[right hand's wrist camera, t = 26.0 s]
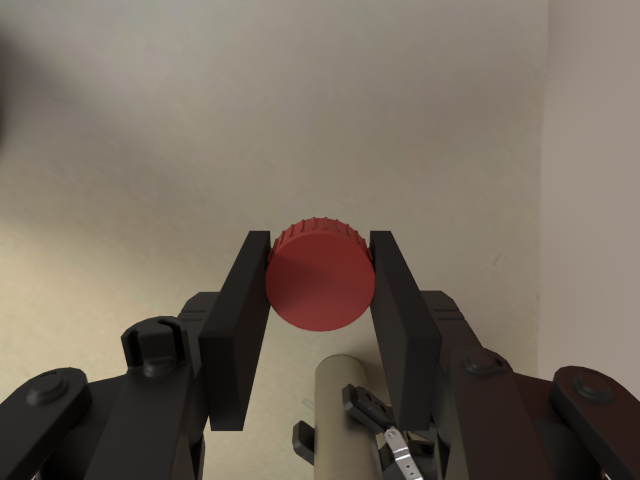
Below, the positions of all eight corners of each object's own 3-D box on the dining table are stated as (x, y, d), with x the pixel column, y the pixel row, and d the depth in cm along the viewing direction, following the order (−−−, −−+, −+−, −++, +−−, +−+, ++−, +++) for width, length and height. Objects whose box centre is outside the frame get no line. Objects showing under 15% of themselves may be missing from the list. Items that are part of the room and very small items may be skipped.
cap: (318, 194, 13) (317, 207, 12) (393, 263, 14) (401, 283, 13) (247, 267, 15) (239, 287, 13) (322, 326, 16) (322, 351, 14)
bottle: (360, 350, 34) (396, 572, 19) (369, 389, 36) (408, 623, 20) (310, 359, 35) (303, 585, 19) (320, 398, 37) (323, 633, 21)
